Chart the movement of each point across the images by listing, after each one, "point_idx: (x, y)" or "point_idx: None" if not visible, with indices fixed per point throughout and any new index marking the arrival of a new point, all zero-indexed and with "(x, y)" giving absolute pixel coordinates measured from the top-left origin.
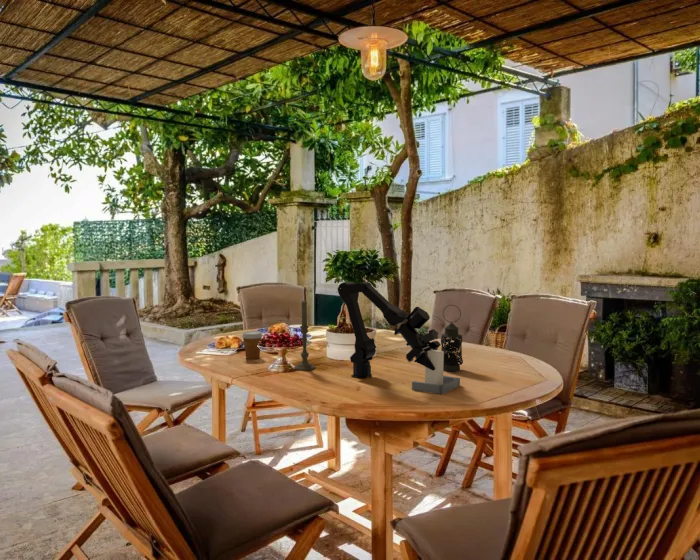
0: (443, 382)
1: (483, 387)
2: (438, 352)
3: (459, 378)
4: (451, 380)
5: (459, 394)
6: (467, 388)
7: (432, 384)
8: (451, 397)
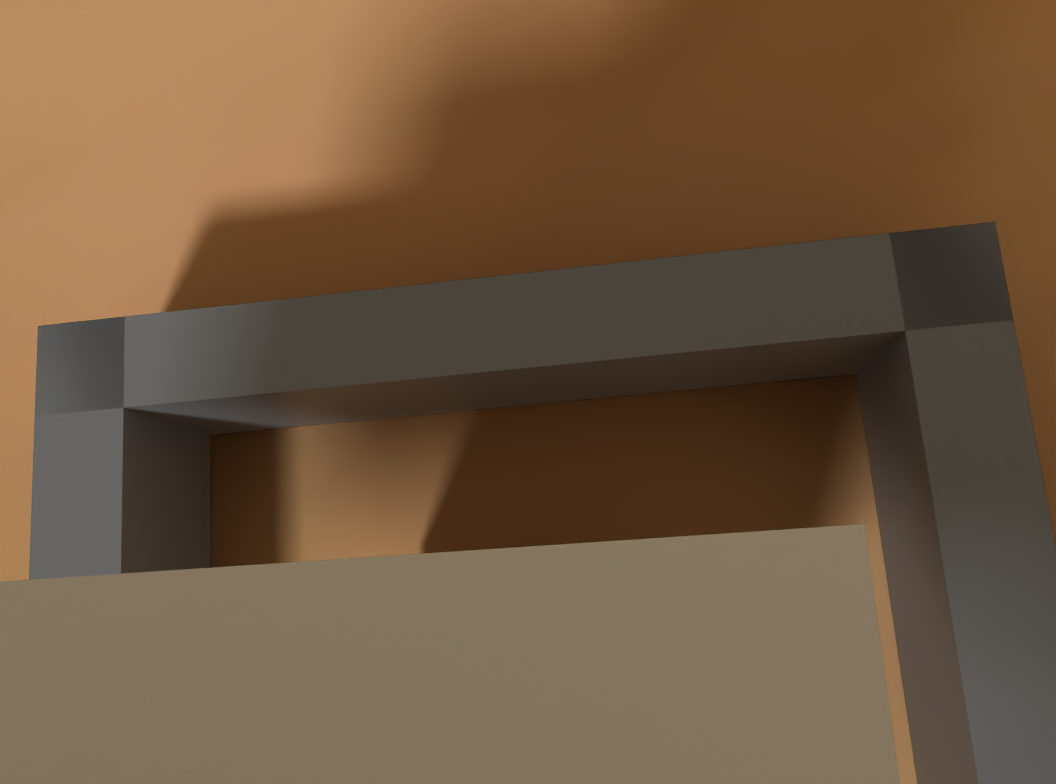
0: None
1: (25, 2)
2: (325, 712)
3: (63, 325)
4: (352, 356)
5: (696, 60)
6: (232, 166)
7: (1008, 519)
8: (982, 57)
